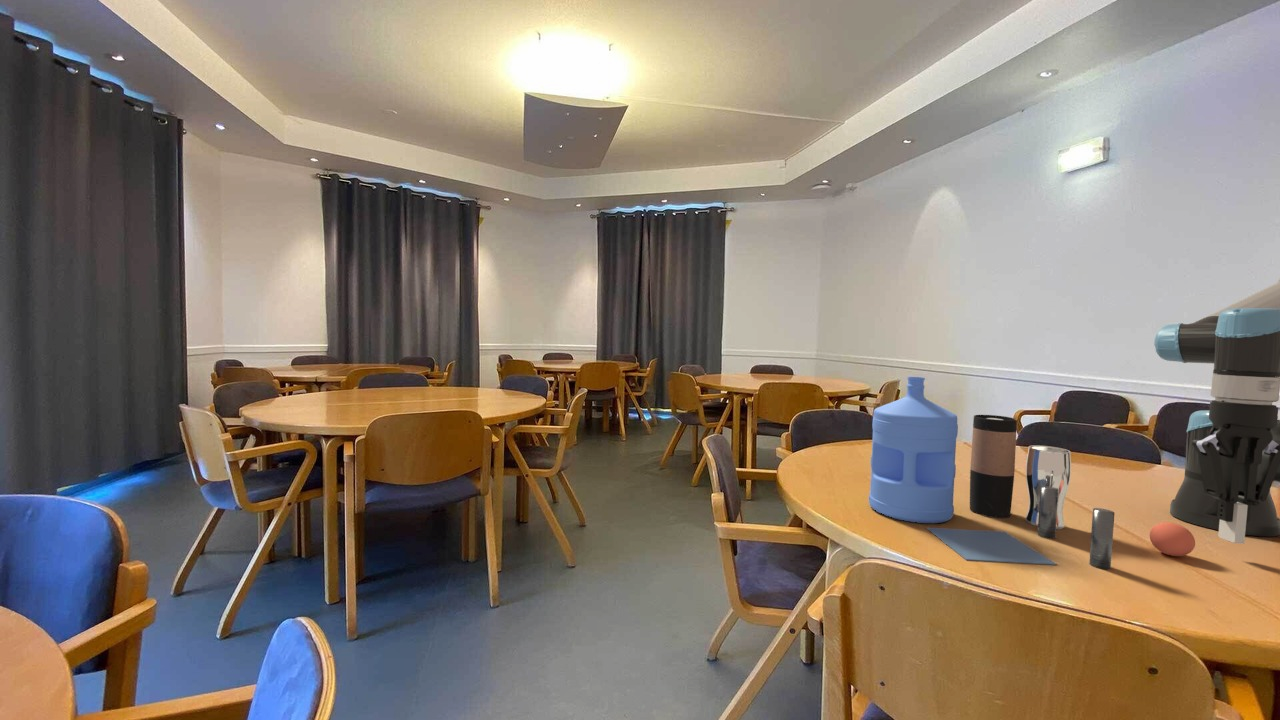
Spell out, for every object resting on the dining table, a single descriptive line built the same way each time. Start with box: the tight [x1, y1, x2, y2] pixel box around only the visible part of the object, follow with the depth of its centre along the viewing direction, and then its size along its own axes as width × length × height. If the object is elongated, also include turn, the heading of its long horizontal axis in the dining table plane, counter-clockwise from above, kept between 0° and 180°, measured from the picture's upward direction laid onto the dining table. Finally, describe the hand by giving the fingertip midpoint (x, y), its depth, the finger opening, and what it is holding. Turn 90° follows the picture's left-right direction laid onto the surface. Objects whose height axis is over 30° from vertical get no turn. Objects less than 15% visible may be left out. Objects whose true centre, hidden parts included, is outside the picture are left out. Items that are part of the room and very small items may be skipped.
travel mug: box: [969, 414, 1018, 519], centre depth 110 cm, size 8×8×20 cm
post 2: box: [1089, 507, 1115, 570], centre depth 85 cm, size 3×3×9 cm
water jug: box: [868, 376, 959, 524], centre depth 109 cm, size 16×16×28 cm
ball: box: [1149, 521, 1196, 557], centre depth 90 cm, size 6×6×6 cm
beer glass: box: [1025, 444, 1072, 531], centre depth 104 cm, size 7×7×15 cm
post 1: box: [1037, 486, 1058, 540], centre depth 97 cm, size 3×3×9 cm
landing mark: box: [926, 527, 1058, 566], centre depth 93 cm, size 14×14×1 cm
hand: (1231, 540), depth 89 cm, fingers closed
